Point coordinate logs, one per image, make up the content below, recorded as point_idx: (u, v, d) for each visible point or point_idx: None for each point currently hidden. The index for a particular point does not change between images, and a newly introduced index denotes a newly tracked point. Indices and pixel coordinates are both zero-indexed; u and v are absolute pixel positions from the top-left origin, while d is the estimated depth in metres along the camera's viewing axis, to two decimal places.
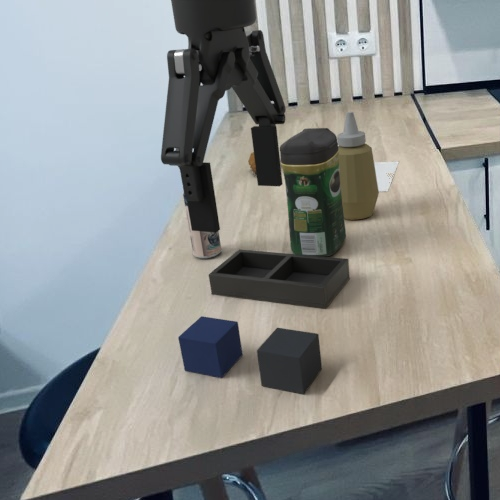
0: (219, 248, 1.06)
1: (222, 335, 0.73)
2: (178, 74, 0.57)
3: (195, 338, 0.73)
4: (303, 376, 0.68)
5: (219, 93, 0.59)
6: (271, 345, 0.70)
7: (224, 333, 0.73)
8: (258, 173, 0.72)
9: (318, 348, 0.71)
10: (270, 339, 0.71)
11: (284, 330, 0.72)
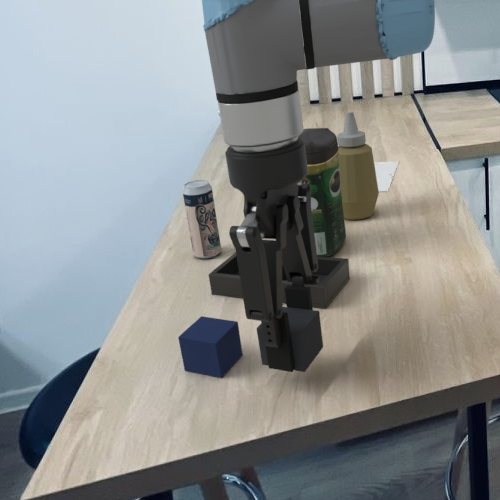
0: (219, 248, 1.06)
1: (222, 335, 0.73)
2: (244, 247, 0.60)
3: (195, 338, 0.73)
4: (304, 353, 0.67)
5: (282, 247, 0.63)
6: None
7: (224, 333, 0.73)
8: None
9: (319, 326, 0.70)
10: None
11: (284, 308, 0.71)
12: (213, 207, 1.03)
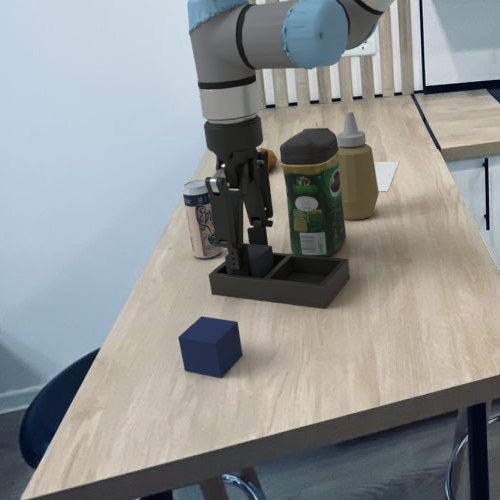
0: (219, 248, 1.06)
1: (222, 335, 0.73)
2: (215, 192, 0.84)
3: (195, 338, 0.73)
4: (259, 274, 0.91)
5: (243, 195, 0.87)
6: None
7: (224, 333, 0.73)
8: None
9: (272, 257, 0.94)
10: None
11: None
12: None
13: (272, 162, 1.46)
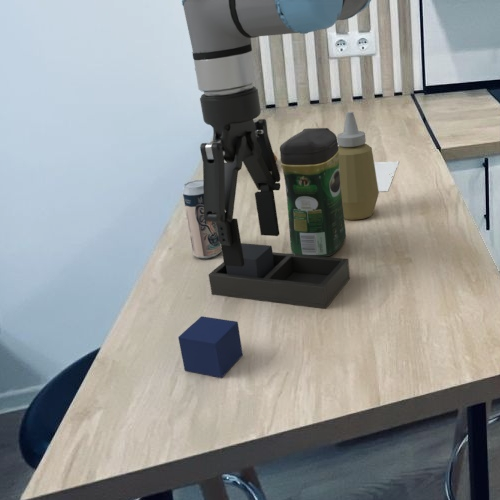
0: (219, 248, 1.06)
1: (222, 335, 0.73)
2: (209, 160, 0.82)
3: (195, 338, 0.73)
4: (259, 274, 0.91)
5: (238, 167, 0.84)
6: None
7: (224, 333, 0.73)
8: (261, 226, 0.96)
9: (271, 257, 0.94)
10: None
11: (246, 244, 0.95)
12: None
13: None
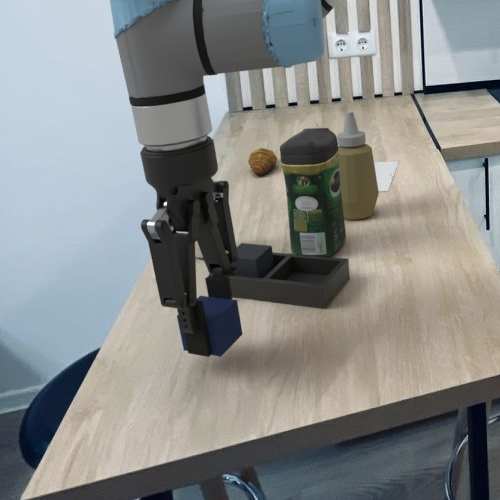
0: None
1: (222, 313, 0.72)
2: (155, 239, 0.65)
3: None
4: (259, 274, 0.91)
5: (194, 240, 0.67)
6: None
7: (223, 311, 0.72)
8: None
9: (271, 257, 0.94)
10: None
11: (246, 244, 0.95)
12: None
13: (272, 162, 1.46)
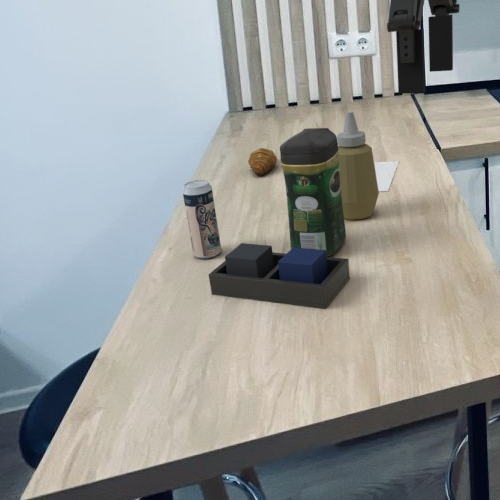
0: (219, 248, 1.06)
1: (316, 259, 0.87)
2: None
3: (293, 262, 0.87)
4: (259, 274, 0.91)
5: None
6: (236, 253, 0.93)
7: (317, 258, 0.87)
8: (431, 60, 0.82)
9: (271, 257, 0.94)
10: (235, 250, 0.94)
11: (246, 244, 0.95)
12: (213, 207, 1.03)
13: (272, 162, 1.46)
